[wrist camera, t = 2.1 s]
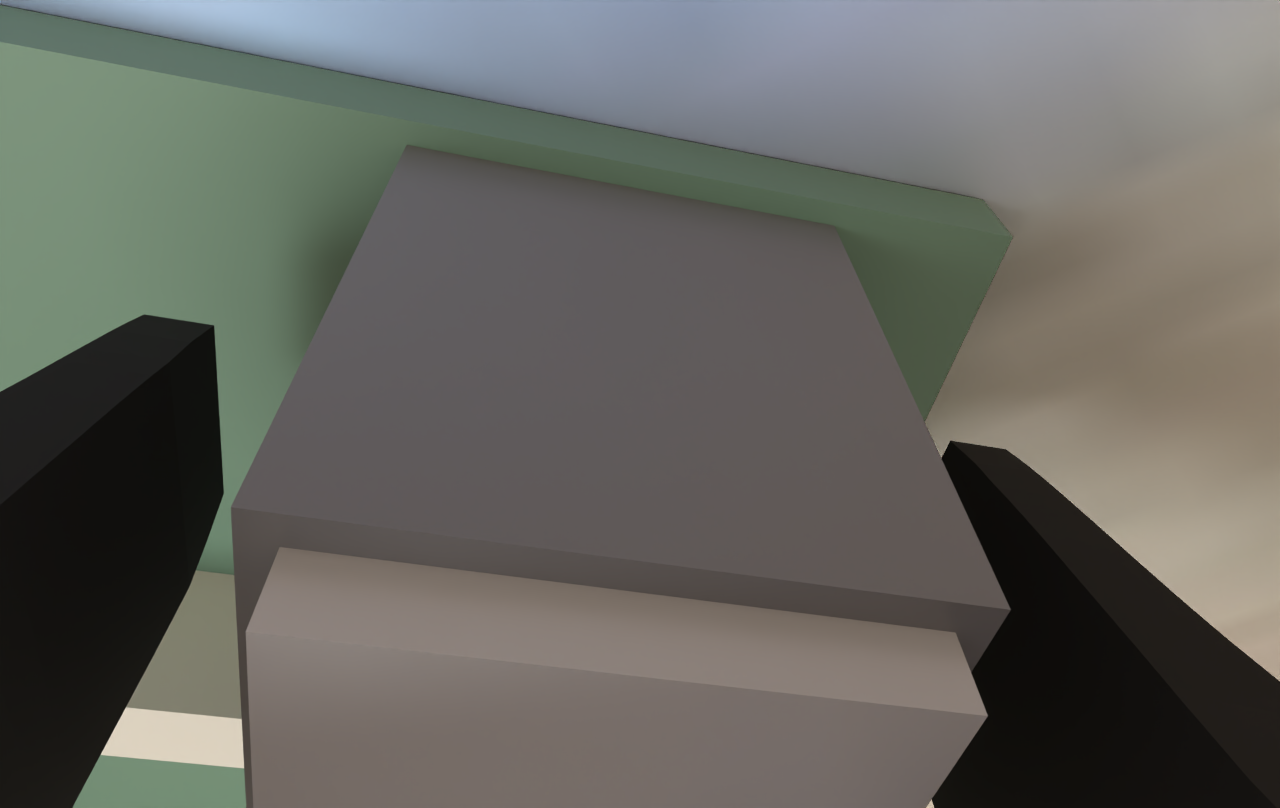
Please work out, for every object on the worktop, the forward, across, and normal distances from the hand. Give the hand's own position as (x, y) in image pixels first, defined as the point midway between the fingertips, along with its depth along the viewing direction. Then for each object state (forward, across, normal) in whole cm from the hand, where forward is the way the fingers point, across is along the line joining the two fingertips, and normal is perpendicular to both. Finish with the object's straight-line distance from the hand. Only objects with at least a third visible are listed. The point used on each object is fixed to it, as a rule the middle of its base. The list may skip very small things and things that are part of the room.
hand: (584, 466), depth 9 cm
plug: (+2, 0, 0) cm, 2 cm away
